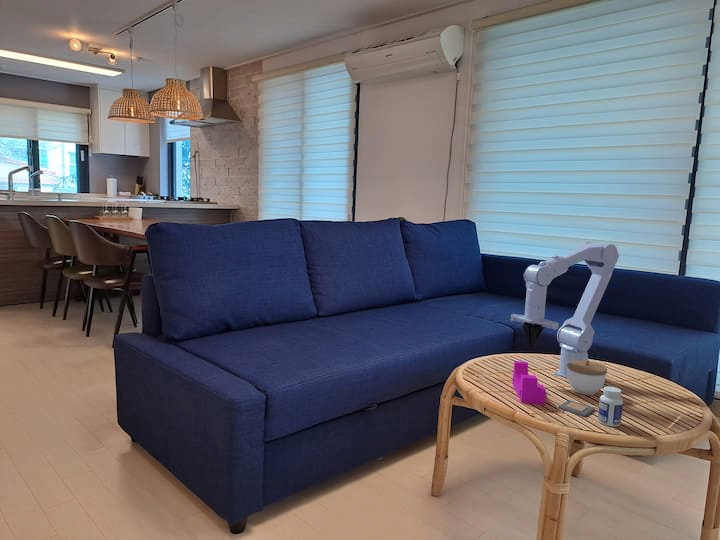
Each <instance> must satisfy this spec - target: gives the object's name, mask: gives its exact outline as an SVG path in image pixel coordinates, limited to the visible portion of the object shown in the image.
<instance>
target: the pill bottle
mask: <svg viewBox="0 0 720 540" xmlns="http://www.w3.org/2000/svg"><path fill="white" fill-rule="evenodd" d="M602 393H603V394H602V395H600V397H599V401H598V402H599V403H598V404H599V405H598V413H597V421H598V422H599V423H600V424H602V425H603V426H604V425H605V426H608V427H612V428H613V427H614V428H616V427H620V426H621V425H622V417H623V416H622V415H623V405H624V400H623V399H622V398H621V396H622V390H621V389H620V388H619V387H614V386H603V392H602Z"/></svg>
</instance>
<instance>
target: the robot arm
mask: <svg viewBox="0 0 720 540" xmlns="http://www.w3.org/2000/svg"><path fill="white" fill-rule="evenodd" d="M619 257H620V254H619V250H618V247H617V246H616V245H615V244H614V243H613V244H612V243H599V242H592V241H587V242H585V243H581V244H580V246H579V247H578V248H576V249H575V250H573V251H570V252H569V253H567V254H566V255H564V256H561V255H556V254H553V255H551V258H549V259H547V260H544V261H540V263H539V264H531V265H529V266H527V268H526V269H525V271H524V273H523V278H524V282H525V287H526V294H525V295H526V297H525V306H524V307H525V308H524V314H515V313H512V314H510V321H511V322H517V323H518V322H519V323H523V325H521V326H522V327H521V329H522V330H523V332H524V334H525V335H524V336H525V338H526V341H527V348H528V349H535V348H536V345H537V343H538V339H539V337H540V336H541V334H542V333H543V331H544V329H545V328H547V329H552V330H555V331H556V330H557V333H556V339H557V342H558V343H559V347H561V348H560V349H561V350H560V356H559V357H560V358H559V367H558V368H559V369H558V370H557V371H554V372H553V375H556V376H559V377H562V378H567V379H568V377H567V368H568V367H567V364H568V362H570V361H586V360H589V354H588V351H589V349H590V348H591V346H592V345H593V338H594V335H595V330H594V328H593V327H592V325H591V323H592V320H593V318H594V316H595V313H596V311H597V309H598V307H599V304H600V302H601V300H602V298H603V296H604V293H605V291H606V289H607V287H608V284H609V282H610V280H611V278H612V275H613V272H614V269H615V267H616V265H617V262H618V260H619ZM583 261H584V263H585V264H586V266H587V267H588V269H589V270H590V271H591V276H590V278H589V281H588V283H587V285H586V286H585V290H584V292H583V293H582V296H581V298H580V301H579V303H578V305H577V308H576V310H575V312H574V314H573V316H572V317H569V318H568V319H566V320H564V322H563V324H562V326H561V327H560V328H559V325H560V322H558V321H553V320H550V319H547V318H545V310H546V302H547V301H546V300H547V290H548V286H550V284H551V282H552V280H554V279H555V278H557V277H558V276H561V275H563V274H565V273H566V272H567V271H569V270H568V269H569V267H571V266H573V265H575V264H578V263H581V262H583Z"/></svg>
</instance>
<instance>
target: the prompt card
mask: <svg viewBox="0 0 720 540" xmlns="http://www.w3.org/2000/svg"><path fill="white" fill-rule="evenodd" d="M557 408H558V409H559V410H562V411H565V412H568V413H571V414H575V415H577V416H580V417H583V418H585V417H587V416H588V415H590V414H591V413H593V412H594V411H595V410H596V408H595V407H594V406H589V405H586V404H585V403H580V402H576V401H573V400H570V399H568V400H566V401H565V402H563V403H561V404H560V405H559V406H557Z"/></svg>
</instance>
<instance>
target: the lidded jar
mask: <svg viewBox="0 0 720 540" xmlns="http://www.w3.org/2000/svg"><path fill="white" fill-rule="evenodd" d="M567 367H568V368H567V377H568V378H567V381H568V383H569V386H570V387H571V388H572V390H573V391H575V392H576V393H577V394H581V395H585V396H587V395H588V396H593V395H596V393H598V392H599V391H600V390H602V389H603V388H604V385H605V382H606V378H607V373H608V369H607V367H606V366H604V365H602V364H599V363H596V362H593V361H590V360H589V359H588V360H586V361H570V362H568V364H567Z"/></svg>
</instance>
